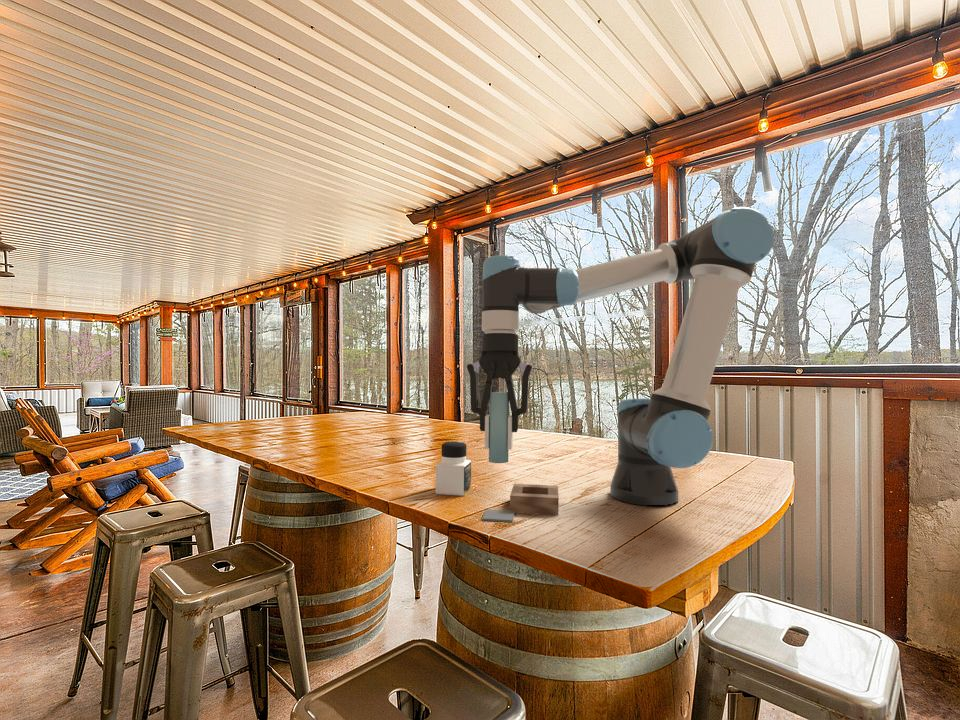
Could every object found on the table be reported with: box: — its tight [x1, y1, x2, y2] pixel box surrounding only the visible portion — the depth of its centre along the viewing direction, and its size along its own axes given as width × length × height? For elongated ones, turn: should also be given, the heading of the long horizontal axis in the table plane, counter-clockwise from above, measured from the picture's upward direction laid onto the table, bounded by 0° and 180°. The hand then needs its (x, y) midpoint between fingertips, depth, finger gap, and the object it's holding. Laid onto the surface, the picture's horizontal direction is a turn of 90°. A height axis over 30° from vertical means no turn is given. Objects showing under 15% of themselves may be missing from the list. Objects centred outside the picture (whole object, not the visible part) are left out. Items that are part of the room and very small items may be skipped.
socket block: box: [509, 483, 560, 516], centre depth 102 cm, size 10×10×4 cm
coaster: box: [481, 508, 516, 523], centre depth 95 cm, size 6×6×1 cm
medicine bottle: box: [435, 440, 472, 497], centre depth 114 cm, size 7×7×12 cm
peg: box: [488, 391, 510, 464], centre depth 95 cm, size 4×4×14 cm
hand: (498, 447), depth 95 cm, fingers closed on peg, 4 cm apart
